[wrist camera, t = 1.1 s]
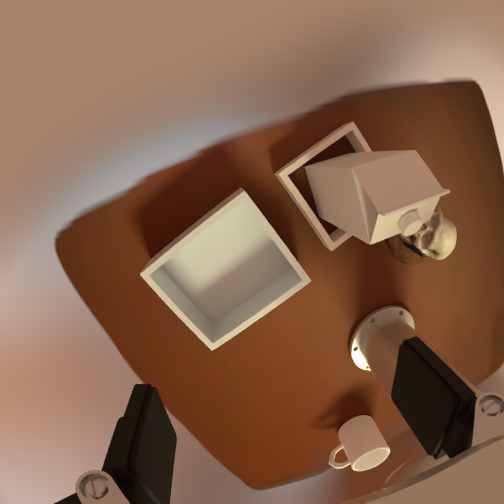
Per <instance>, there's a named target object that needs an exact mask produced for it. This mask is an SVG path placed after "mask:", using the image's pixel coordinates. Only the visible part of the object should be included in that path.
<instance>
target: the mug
mask: <svg viewBox="0 0 504 504" xmlns="http://www.w3.org/2000/svg"><path fill="white" fill-rule="evenodd" d="M338 437H339V439H340V441H341V445H339V446H337V447H336V448H335V449H334V450H333V451H332V452H331V454H330V459H329V464H330V465H331V466H333V467H334V468H344V467H345V466H347V465H349V464H350V465H351V467H352V469H353V470H355V471H364V470H368V469H371V468H373V467H375V466H377V465H379V464H380V463H381V462H383V461H384V460H385V459H386V458H387V456H388V455H389V453H390V449H389V447H388V445H387V443H386V442H385V440H384V438H383V436H382V435H381V433H380V431H379V429H378V428H377V426H376V424H375V422H374V421H373V419H372V417H370V416H368V415H361V416H357V417H354V418H352V419H350V420H348V421H347V422H346V423H344V424H343V425H342V426H341V428H340V429H339V431H338ZM342 448H344V451H345V453H346V455H347V458H348V461H346V462H345V463H336V462H335V461H334V458H335V454H336V453H337V452H338V451H339V450H340V449H342Z"/></svg>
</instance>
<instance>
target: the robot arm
mask: <svg viewBox="0 0 504 504" xmlns="http://www.w3.org/2000/svg"><path fill="white" fill-rule="evenodd" d="M414 328H415V327H414V320H413V317H412V316H411V314H410V313H409V312H408V311H407V310H406V309H404V308H403V307H400V306H397V305H389V306H384V307H381V308H379V309H377V310H375V311H373V312H372V313H370V314H369V315H367V316H366V317H365V318H364V319H363V320H362V321H361V322H360V324H359V325H358V326H357V328H356V329H355V331H354V333H353V335H352V337H351V340H350V345H349V352H350V356H351V358H352V360H353V362H354V363H355V364H356V365H357V366H358V367H359V368H361V369H363V370H369V371H372V373H373V374H374V376H375V377H376V378H377V380H378V381H379V383H380V384H381V386H382V387H383V388H384V390H385V391H386V393H387V394H388V396H389V397H390V399H391V400H392V401H393V403H394V404H395V406H396V407H397V409H398V410H399V412H400V413H401V415H402V416H403V417H404V419H405V420H406V422H407V423H408V425H409V426H410V428H411V429H412V431H413V433H414V434H415V436H416V437H417V438H418V440H419V441H420V443H421V445H422V446H423V448H422V449H421V450H420V451H419V452H417V453H416V454H415V455H414V456H413V457H412V458H410V459H409V460H408V461H406V462H405V463H404V464H403V465H401V466H400V467H399V468H398V469H397V470H395V471H394V472H393V473H392V474H391V475H390V476H389V477H388V478H387V480H386V482H385V484H384V487H383V489H382V490H379V491H377V492H373V493H370V494H368V495H365V496H362V497H358V498H355V499H352V500H349V501H345V502H342V503H338V504H504V397H503V396H502V395H500V394H498V393H493V392H488V393H482V392H481V391H479V390H478V389H477V388H476V387H475V386H474V385H472V384H471V383H470V382H469V381H468V380H467V379H466V378H465V377H464V376H463V375H462V374H460V373H459V372H458V371H457V370H456V369H455V368H454V367H453V366H452V365H451V364H450V363H449V362H448V361H447V360H446V359H445V358H444V357H443V356H442V355H441V354H440V353H439V352H438V351H437V350H436V349H434V348H433V347H432V346H431V345H430V344H429V343H428V342H427V341H426V340H425V339H424V338H423V337H422V336H421V335H420V334H418V333H417V332H416V331H415V330H414ZM176 442H177V437H176V433H175V430H174V428H173V426H172V424H171V421H170V419H169V417H168V415H167V413H166V410H165V407H164V405H163V403H162V400H161V398H160V395H159V393H158V390H157V388H156V387H152V385H151V384H136V385H135V386H134V388H133V391H132V394H131V397H130V399H129V402H128V405H127V408H126V411H125V414H124V417H121V418H119V420H118V422H117V425H116V427H115V430H114V433H113V436H112V439H111V443H110V445H109V448H108V452H107V455H106V458H105V461H104V465H103V467H102V471H99V470H92V471H88V472H86V473H84V474H83V475H81V477H80V478H79V479H78V481H77V483H76V493H75V494H72V495H71V496H68V497H67V498H65V499H62V500H61V501H58V502H56V503H54V504H170V495H171V486H172V476H173V467H174V458H175V450H176Z"/></svg>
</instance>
